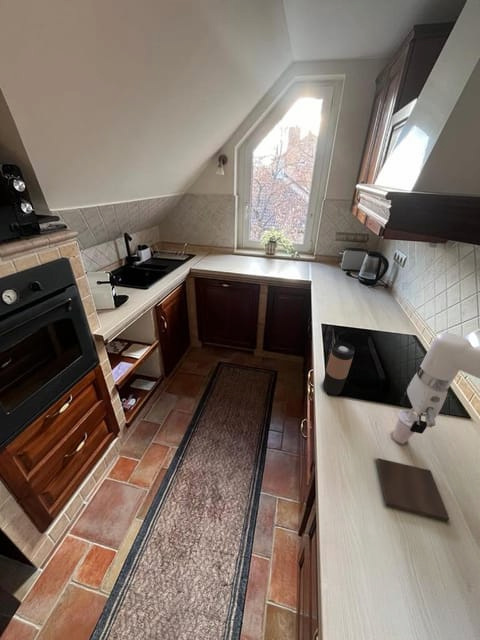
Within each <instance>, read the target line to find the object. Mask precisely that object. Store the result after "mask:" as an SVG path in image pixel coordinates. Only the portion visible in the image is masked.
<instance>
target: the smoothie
mask: <svg viewBox="0 0 480 640" xmlns="http://www.w3.org/2000/svg"><path fill="white" fill-rule="evenodd" d="M414 412H415V411H414V409H413V407H411V409H410V410H405V409H403V410H400V411H399V412H398V414H397V420H396V423H395V427H394V430H393V433H392V438H393V439H394V441H395V442H397V443H399V444H402V445H403V444H406V442H407V441H408V440H409V439H410V438H411V437H412V436H413V435H414V434H415V433H416V432H411V431H410V428H411V426H412V424H413V423H414V421H417V414H416V413H414Z"/></svg>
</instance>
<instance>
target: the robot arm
mask: <svg viewBox="0 0 480 640" xmlns="http://www.w3.org/2000/svg"><path fill="white" fill-rule="evenodd" d="M460 371H461V372H463V373H466V374H467V375H469V376H472V377H475V378H477V379H479V380H480V328H478V329H476V330H474V331H472V332H470V333H468V334H467V335H465V336H464V337H463V336H461V335H460V334H459V335H458V334H456V333H452V332H442V333H438V334H437V335H436V336H435V337H434V339H433V341H432V343H431V344H430V346H429V349H428V350H427V352H426V354H425V356H424V358H423V360H422V362H421V363H420V366H419V367H418V370H417V371H416V373H415V374H414V376H413V377H412V378H411V377H409V378H408V382H407V384H406V386H405V387H406V390H404V395H403V396H402V398H401V400H400V402H399V405H400V406H403V407H407V408H413V409H414V411H413V412H415V414H416V415H417V421H414V423H413V424H412V426H411V428H410V431H411V432H415V433H416V434H420V435H421V434H423V433H424V432H425V430H426V429H427V428H432V427H433V428H434V427H435V426H436V425H437V423H436V418H437V416H438V415H439V413H440V411H441V410H442V407H443V406H444V403H445V402H446V398H447V395H448V389H449V388H450V387H451V385H452V383H453V382H454V380H455V378H456V377H457V375H458V374H459V372H460ZM425 412H426V413H425ZM422 417H425V419H424V420H425V421H424V420H422Z"/></svg>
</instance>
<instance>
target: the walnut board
mask: <svg viewBox="0 0 480 640" xmlns="http://www.w3.org/2000/svg"><path fill="white" fill-rule="evenodd" d="M375 463H376V467H377V472H378V476H379V480H380V484H381V490H382V495H383V499H384V503H385V506H387V507H389V508H390V507H391V508H395V509H398V510H402V511H405V512H409V513H413V514H417V515H420V516H425V517H428V518H433V519H436V520H440V521H443V522H448V521H449V520H450V517H449V513H448V511H447V509H446V506H445V504H444V501H443V499H442V496H441V494H440V492H439V489H438V486H437V484H436V481H435V478H434V476H433V473H432V471H431V470H430V469H427V468H422V467H417V466H413V465H410V464H405V463H400V462H397V461H392V460H387V459H383V458H380V457H377V458H376V460H375Z"/></svg>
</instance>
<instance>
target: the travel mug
mask: <svg viewBox="0 0 480 640" xmlns="http://www.w3.org/2000/svg"><path fill="white" fill-rule="evenodd" d="M354 355H355V347H353V345H352V344H350V343H347V342H344V341H337V342H334V343H333V344H332V347H331V351H330V355H329V357H328V361H327V365H326V369H325V373H324V377H323V383H322V389H323V391H324V392H325V393H326V394H329V395H331V396H338V395H340V394H341V393H342V391H343V388H344V385H345V383H346V380H347V377H348V375H349V371H350V368H351V365H352V362H353V358H354Z"/></svg>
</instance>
